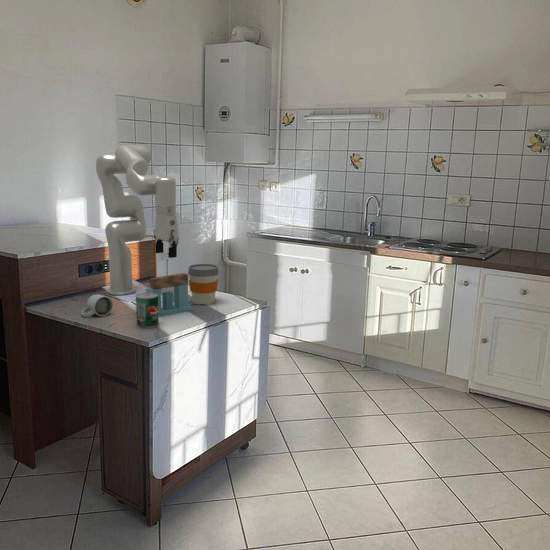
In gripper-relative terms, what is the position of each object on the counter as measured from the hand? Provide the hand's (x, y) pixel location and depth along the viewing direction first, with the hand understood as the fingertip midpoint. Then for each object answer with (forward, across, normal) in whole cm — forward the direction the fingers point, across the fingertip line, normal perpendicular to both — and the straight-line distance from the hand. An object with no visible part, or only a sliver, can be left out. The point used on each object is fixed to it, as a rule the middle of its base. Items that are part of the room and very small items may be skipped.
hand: (165, 255), depth 214 cm
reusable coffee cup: (+23, +4, -20) cm, 31 cm away
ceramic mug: (+23, +13, +23) cm, 35 cm away
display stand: (+23, -1, 0) cm, 23 cm away
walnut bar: (+12, -1, -1) cm, 12 cm away
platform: (+24, +17, -3) cm, 29 cm away
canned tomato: (+23, -10, +14) cm, 28 cm away
